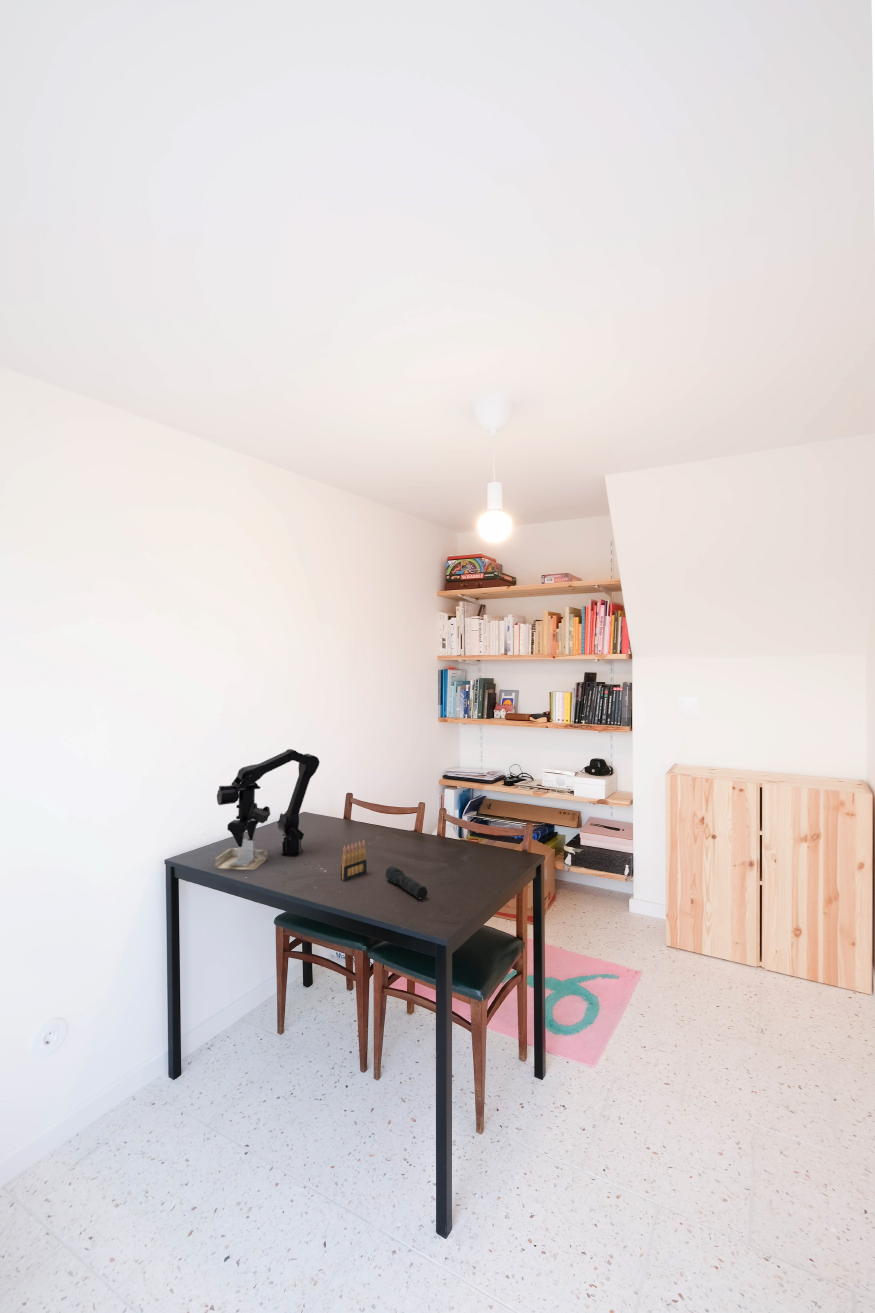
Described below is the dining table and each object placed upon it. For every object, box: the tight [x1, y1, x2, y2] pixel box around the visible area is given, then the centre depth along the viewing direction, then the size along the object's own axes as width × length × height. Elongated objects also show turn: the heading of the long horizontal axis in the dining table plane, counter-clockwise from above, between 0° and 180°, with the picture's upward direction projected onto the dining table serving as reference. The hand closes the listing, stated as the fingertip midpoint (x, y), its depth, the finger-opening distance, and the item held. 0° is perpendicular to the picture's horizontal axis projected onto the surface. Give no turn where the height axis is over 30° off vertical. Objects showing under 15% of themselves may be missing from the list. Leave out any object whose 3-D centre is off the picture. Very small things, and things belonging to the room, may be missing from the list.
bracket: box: [232, 838, 256, 867], centre depth 218 cm, size 6×6×8 cm
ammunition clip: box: [340, 839, 368, 882], centre depth 208 cm, size 11×2×12 cm, turn 139°
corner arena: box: [214, 847, 268, 871], centre depth 219 cm, size 15×12×4 cm
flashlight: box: [385, 865, 428, 900], centre depth 197 cm, size 5×21×5 cm, turn 34°
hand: (245, 843), depth 220 cm, fingers open, 9 cm apart
